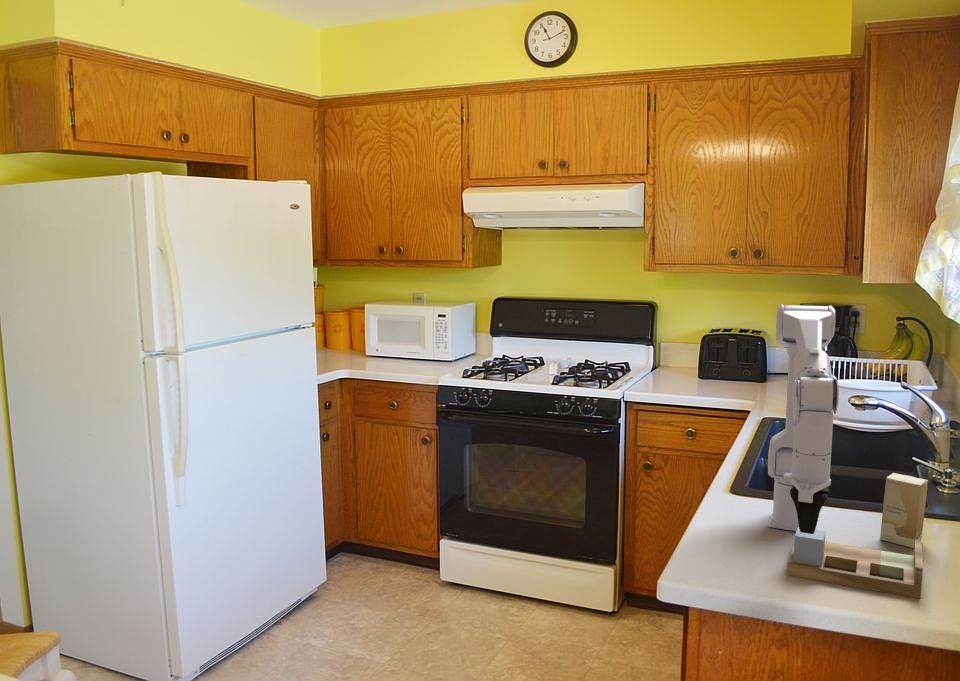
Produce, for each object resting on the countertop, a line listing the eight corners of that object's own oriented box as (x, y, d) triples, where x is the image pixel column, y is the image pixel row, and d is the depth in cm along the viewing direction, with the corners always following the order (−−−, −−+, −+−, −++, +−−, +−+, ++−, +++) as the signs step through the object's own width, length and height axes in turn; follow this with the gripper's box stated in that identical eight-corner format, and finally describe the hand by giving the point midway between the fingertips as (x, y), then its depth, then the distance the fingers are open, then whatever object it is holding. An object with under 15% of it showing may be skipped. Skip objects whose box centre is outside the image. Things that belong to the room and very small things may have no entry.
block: (796, 551, 146) (797, 526, 145) (824, 556, 144) (825, 531, 143) (793, 561, 142) (794, 535, 141) (821, 565, 140) (823, 540, 139)
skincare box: (879, 540, 156) (883, 477, 154) (886, 533, 159) (891, 471, 157) (916, 549, 152) (921, 484, 150) (923, 542, 155) (928, 478, 153)
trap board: (795, 547, 152) (797, 521, 152) (919, 567, 144) (921, 540, 143) (786, 574, 141) (788, 546, 140) (920, 598, 132) (922, 568, 131)
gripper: (790, 437, 142) (786, 513, 144) (779, 459, 129) (775, 543, 131) (835, 442, 139) (830, 520, 141) (828, 465, 126) (823, 550, 128)
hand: (807, 531), depth 136 cm, fingers closed
